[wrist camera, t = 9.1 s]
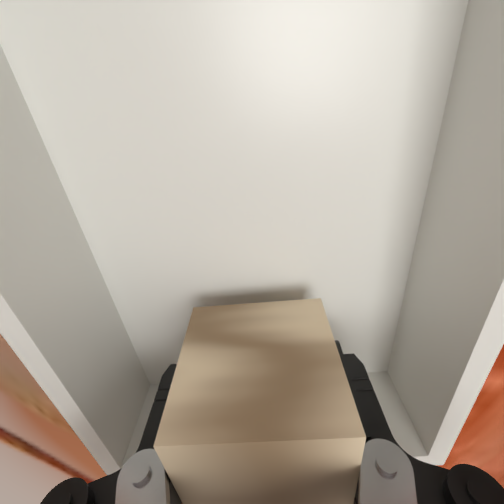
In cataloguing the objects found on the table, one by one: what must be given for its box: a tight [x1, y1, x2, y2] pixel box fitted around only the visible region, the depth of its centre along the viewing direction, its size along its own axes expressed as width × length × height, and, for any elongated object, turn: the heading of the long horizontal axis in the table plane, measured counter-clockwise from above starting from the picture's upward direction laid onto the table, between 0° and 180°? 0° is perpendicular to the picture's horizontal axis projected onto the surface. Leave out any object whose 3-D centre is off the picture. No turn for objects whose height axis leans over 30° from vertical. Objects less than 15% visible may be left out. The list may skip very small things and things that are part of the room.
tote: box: [0, 0, 504, 475], centre depth 9 cm, size 15×20×5 cm
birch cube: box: [153, 298, 366, 504], centre depth 10 cm, size 5×5×5 cm
